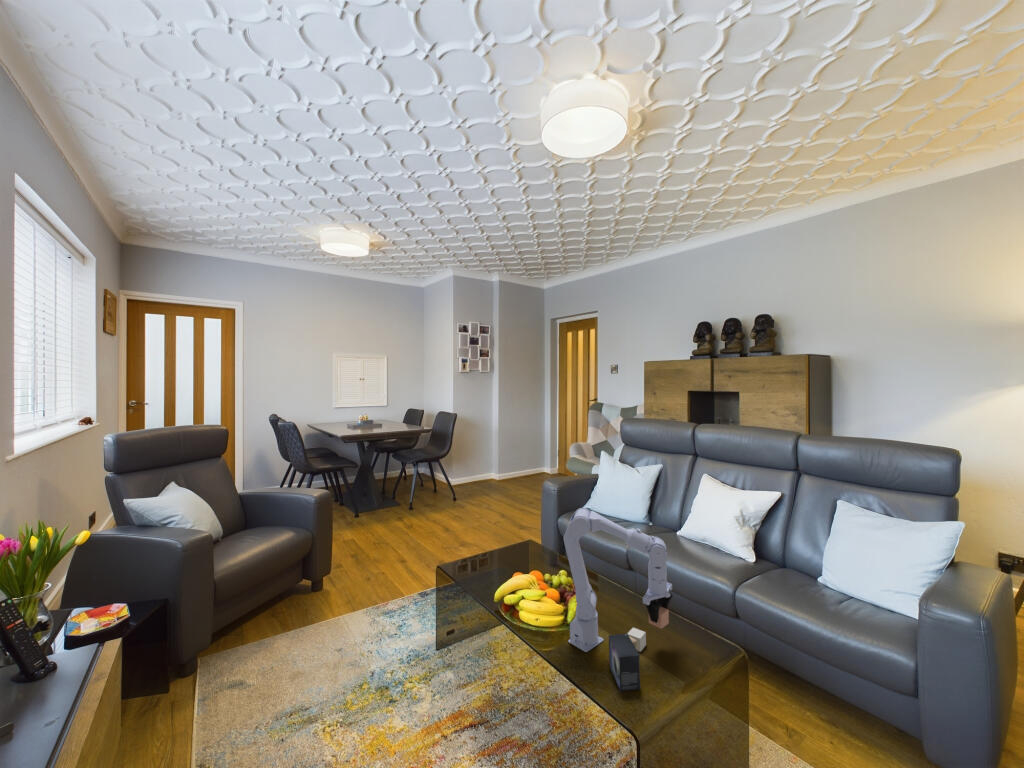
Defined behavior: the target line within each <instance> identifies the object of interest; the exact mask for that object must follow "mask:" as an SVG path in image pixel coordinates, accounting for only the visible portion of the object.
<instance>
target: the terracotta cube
mask: <svg viewBox="0 0 1024 768" xmlns="http://www.w3.org/2000/svg"><path fill="white" fill-rule="evenodd" d="M669 610H670V609H669V608H668V609H666V608H663V607H661V606H660V609H659V615H658V622H657V623H655V622H653V621H651V619H650V616H649V615H648V624H650V625H652V626H653V627H657V628H659V629H660V630H661V629H663V628H664V627H666V626H667V625H669V623H670V620H669V619H670V618H669V612H670V611H669Z"/></svg>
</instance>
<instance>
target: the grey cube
mask: <svg viewBox="0 0 1024 768" xmlns="http://www.w3.org/2000/svg"><path fill="white" fill-rule="evenodd" d="M626 634H628V635H629V636H630V637H632V638H633V639H635V640H636V641H637V651H638V653H639V652H640V653H641V652H642V651H643V650H644V649H645V647H646V645H647V637H646V636H647V634H646V631H643V630H641V629H638V628H636V627H632V628H631V629H630V630H628V632H627V633H626Z"/></svg>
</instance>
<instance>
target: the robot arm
mask: <svg viewBox="0 0 1024 768" xmlns="http://www.w3.org/2000/svg"><path fill="white" fill-rule="evenodd" d="M590 531H591V533H595V532H599V531H603V532H605V533H608V534H610V535H613V536H615V537H618V538H619V539H622V540H624V543H625V545H627V546H629V547H631V548H632V549H634V550H637V551H639V552H641V553H642V554H646V555H647V556H648V561H647V563H648V564H647V565H648V566H647V567H648V571H647V572H648V573H647V575H648V588H647V590H646V592H645V594H644V596H642V604H644V605H645V607H646V610H647V612H648V617H649V616H650V619H651V621H653V622H655V623H657V622H658V615H659V609H660V606H661V607H663V608H666V609H668V610H669V605H670V602H671V601H672V599H673V594H672V593H670V591H672V590H673V584H672V583H670V582H668V569H667V568H668V565H667V558H668V550H667V545H666V542H664V540H663V539H662V538H661V537H659V536H653V535H648V534H646V533H644V532H642V531H641V529H640V528H638V527H637V528H634V527H633V528H628V529H627V528H625V527H623V526H622V525H620V524H617V523H616V522H615V521H612V520H610V519H608V518H606V517H604V516H602V515H601V514H599V513H598V512H596V511H593V510H590V509H588V508H586V507H580V508H578V509H576V510H575V512H574V513H573V514H572V515H571V517H570V519H569V522H568V525H567V527H566V529H565V533H564V535H563V543H564V546H565V547H564V548H565V552H566V555H567V556H566V557H567V559H568V563H569V567H570V572H571V575H572V576H571V577H572V580H573V585H574V587H575V588H574V589H575V600H576V608H575V617H574V618H573V620H572V621H571V622H570V623H569V639H568V640H567V641H568V643H569V644H571V645H573V646H574V647H576V648H578V649H579V650H581V651H583V652H585V653H588V652H589V651H591V650H592V649H594V648H595V647H596V646H598V645H600V644H601V643H603V642H604V638H603V637H601V636H599V619H598V618H599V617H598V616H599V615H598V610H597V609H596V606H597V602H598V597H597V595H596V593H595V591H594V590H593V588H592V585H591V584H590V581H589V578H588V573H587V569H586V564H585V562H584V557H583V553H582V549H581V544H580V539H581V538H582V537H583V536H585V535H587V534H588V533H589V532H590Z"/></svg>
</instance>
